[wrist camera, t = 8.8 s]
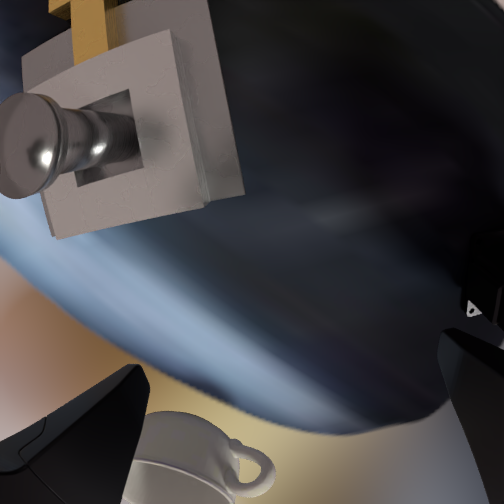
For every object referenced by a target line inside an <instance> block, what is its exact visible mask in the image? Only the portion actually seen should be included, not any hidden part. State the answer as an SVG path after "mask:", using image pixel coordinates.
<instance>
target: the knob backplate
mask: <svg viewBox="0 0 504 504" xmlns="http://www.w3.org/2000/svg"><path fill="white" fill-rule="evenodd" d="M49 13H50V14H53V15H55V16H57V17H59V18H62V19H64V20H68V19H70V18H71V28H70V29H68V30H66V31H65V32H63V33H61V34H59V35H57V36H55V37H54V38H52V39H50V40H49V41H47V42H45V43H43V44H42V45H40V46H38V47H37V48H35V49H34V50H32V51H30V52H29V53H27V54H26V55H24V56H23V57H22V77H23V90H24V93H35V94H43V95H47V96H49V97H51V98H52V99H54V100H55V101H56V102H57V103H58V104H59V106H60V107H61V108H69V109H80V110H91V111H100V112H109V113H117V114H123V115H126V116H128V117H130V118H131V119H132V120H133V121H134V123H135V126H136V131H137V136H138V143H137V146H136V149H135V150H134V152H133V153H132V155H131V156H130V157H129V158H127V159H126V160H124V161H121V162H116V163H111V164H106V165H101V166H96V167H92V168H87V169H82V170H78V171H73V172H69V173H65V174H61V175H59V176H58V177H57V179H56V180H55V181H54V183H53V184H52V185H51V186H50V187H49V188H47V189H46V190H44V191H42V192H40V194H41V198H42V202H43V206H44V210H45V214H46V217H47V221H48V225H49V228H50V232H51V235H52V237H53V236H56V239H57V240H59V239H63V238H67V237H71V236H75V235H79V234H83V233H88V232H92V231H96V230H100V229H105V228H109V227H113V226H118V225H122V224H127V223H131V222H136V221H140V220H145V219H150V218H154V217H159V216H164V215H169V214H174V213H179V212H184V211H189V210H194V209H199V208H204V207H205V206H206V205H207V204H208V203H209V202H210V201H213V200H218V199H223V198H229V197H234V196H240V195H245V193H246V192H245V187H244V181H243V176H242V171H241V166H240V161H239V156H238V150H237V145H236V140H235V135H234V130H233V125H232V119H231V114H230V109H229V104H228V99H227V94H226V89H225V84H224V79H223V74H222V69H221V63H220V58H219V53H218V48H217V43H216V38H215V33H214V28H213V23H212V18H211V13H210V8H209V3H208V0H132V1H130V2H127V3H125V4H122V5H120V6H118V0H49Z"/></svg>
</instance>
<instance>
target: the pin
mask: <svg viewBox="0 0 504 504" xmlns="http://www.w3.org/2000/svg"><path fill="white" fill-rule="evenodd" d="M137 143H138V136H137V131H136V126H135V123H134V121H133V120H132V119H131V118H130V117H128V116H126V115H123V114H117V113H109V112H100V111H91V110H80V109H69V108H61V107H60V106H59V104H58V103H57V102H56V101H55V100H54V99H52V98H51V97H49V96H47V95H43V94H35V93H17V94H14V95H12V96H10V97H8V98H7V99H6V100H4V101H3V102H2V103H1V104H0V193H2V194H3V195H4V196H6V197H8V198H12V199H21V198H24V197H27V196H30V195H34V194H37V193H40V192H42V191H44V190H46V189H47V188H49V187H50V186H51V185H52V184H53V183H54V181H55V180H56V179H57V177H58V176H59V175H61V174H65V173H69V172H73V171H78V170H82V169H87V168H92V167H96V166H101V165H106V164H111V163H116V162H121V161H124V160H126V159H127V158H129V157H130V156H131V155H132V153H133V152H134V150H135V149H136V146H137Z"/></svg>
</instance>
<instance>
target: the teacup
mask: <svg viewBox="0 0 504 504" xmlns="http://www.w3.org/2000/svg"><path fill="white" fill-rule="evenodd" d="M239 458H244V459H248V460H251V461H254V462H255V463H257V464H259V465H260V466H261V473H260V475H259V476H258V477H257V479H256V480H255V481H253V482H250V483H241V482H239V469H240V466H239ZM275 477H276V470H275V466H274V464H273V463H272V461H271V460H270V459H269V458H268V457H267V456H266V455H265V454H264V453H262V452H261V451H259V450H256V449H254V448H251V447H247V446H244V445H242V443H241V442H240V441H239V440H237V439H230V438H229V437H228V436H227V435H226V434H225V433H224V432H223V431H222V430H221V429H219V428H218V427H216V426H215V425H213V424H212V423H210V422H209V421H207V420H205V419H203V418H201V417H199V416H196V415H193V414H189V413H184V412H174V411H161V412H154V413H150V414H147V415H145V419H144V424H143V428H142V432H141V436H140V439H139V442H138V445H137V449H136V452H135V455H134V458H133V462H132V465H131V468H130V472H129V475H128V479H127V482H126V486H125V489H124V492H123V496H122V498H124V499H125V500H126V501H127V502H129V503H130V504H235V498H236V495H239V496H242V497H255V496H259V495H261V494H263V493H265V492H266V491H267V490H268V489H269V488H270V487H271V486H272V484H273V482H274V480H275Z"/></svg>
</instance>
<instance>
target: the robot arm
mask: <svg viewBox="0 0 504 504" xmlns="http://www.w3.org/2000/svg"><path fill="white" fill-rule="evenodd" d="M477 239H478V242H477V243H476V241H477ZM471 308H472V309H471ZM470 309H471V310H470ZM464 312H465V314H466V315H467V316H469V317H471V316H475V315H478V314H481V313H482V314H483V315H484V316H485V317H486V318H487V319H488V320H489V321H490V322H491V323H492V324H493V325H496V324H497V325H498V326H499V327H500V328H501V329H502V330H503V331H504V228H503V229H497V230H492V231H487V232H481V233H476V234H474V235H473V236H472V238H471V242H470V260H469V267H468V278H467V288H466V301H465V309H464ZM437 358H438V362H439V365H440V368H441V371H442V374H443V377H444V380H445V383H446V386H447V389H448V393H449V396H450V399H451V401H452V404H453V406H454V409H455V411H456V413H457V416H458V418H459V420H460V423H461V425H462V428H463V430H464V433H465V435H466V438H467V440H468V443H469V445H470V448H471V451H472V453H473V456H474V458H475V461H476V464H477V467H478V470H479V473H480V475H481V479H482V481H483V485H484V488H485V491H486V494H487V497H488V500H489V504H504V350H503V349H501V348H498V347H496V346H494V345H492V344H490V343H487V342H485V341H483V340H481V339H479V338H476V337H474V336H472V335H470V334H467V333H465V332H463V331H461V330H458V329H456V328H449V329H445V330H443V331H442V332H441V334H440V339H439V345H438V351H437ZM149 393H150V385H149V382H148V380H147V378H146V375H145V373H144V371H143V368H142V367H141V365H139V364H127V365H126V366H124V367H122V368H121V369H119V370H118V371H116V372H115V373H113V374H112V375H110V376H109V377H107V378H106V379H104V380H103V381H101V382H99V383H98V384H96V385H95V386H93V387H91V388H90V389H88V390H87V391H85V392H84V393H82V394H80V395H79V396H77V397H76V398H74V399H73V400H71V401H69V402H68V403H66V404H65V405H64V406H62V407H60V408H58V409H57V410H55V411H54V412H52V413H50V414H49V415H47V417H44V418H42V419H41V420H39V421H37V422H36V423H34V424H32V425H31V426H29V427H27V428H25V429H23V430H22V431H20V432H18V433H16V434H14V435H12V436H10V437H8V438H6V439H4V440H2V441H0V504H120V503H121V499H122V496H123V492H124V489H125V486H126V482H127V479H128V475H129V472H130V468H131V465H132V462H133V458H134V455H135V452H136V449H137V445H138V442H139V439H140V436H141V432H142V428H143V424H144V419H145V413H146V408H147V403H148V398H149Z"/></svg>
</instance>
